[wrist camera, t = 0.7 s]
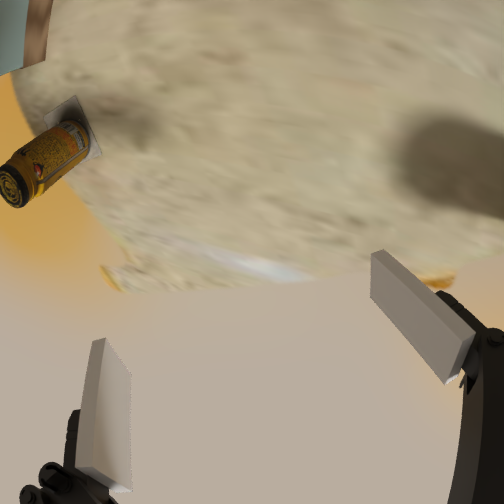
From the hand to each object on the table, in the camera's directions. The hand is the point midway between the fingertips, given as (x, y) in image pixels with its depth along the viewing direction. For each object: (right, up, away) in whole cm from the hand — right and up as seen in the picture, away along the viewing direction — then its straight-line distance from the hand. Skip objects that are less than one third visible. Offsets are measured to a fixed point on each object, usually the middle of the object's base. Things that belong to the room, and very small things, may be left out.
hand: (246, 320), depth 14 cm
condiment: (-22, +18, +18) cm, 34 cm away
